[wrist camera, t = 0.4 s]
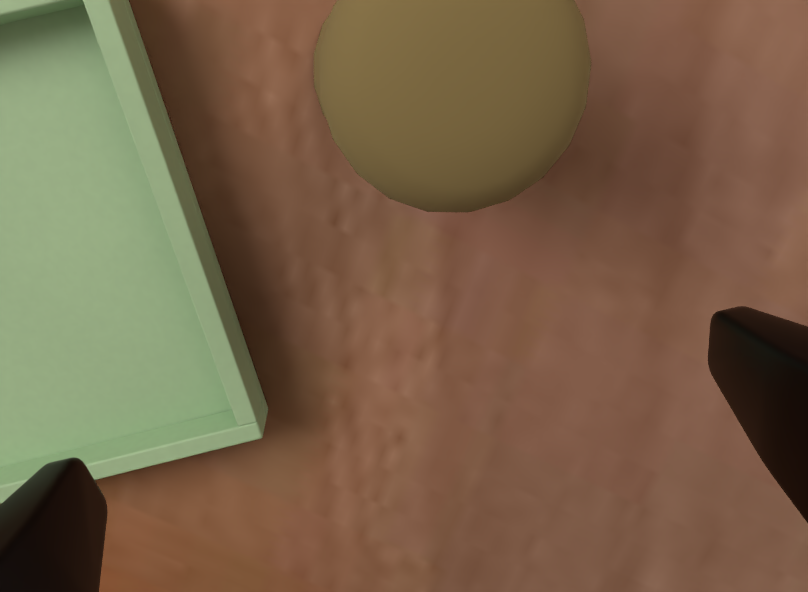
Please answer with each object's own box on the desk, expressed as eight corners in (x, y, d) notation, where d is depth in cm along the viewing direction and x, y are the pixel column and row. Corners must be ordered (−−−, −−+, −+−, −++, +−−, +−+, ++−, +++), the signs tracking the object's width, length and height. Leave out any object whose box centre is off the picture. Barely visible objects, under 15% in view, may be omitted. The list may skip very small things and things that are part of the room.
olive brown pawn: (439, 197, 23) (522, 305, 13) (280, 111, 21) (229, 154, 11) (530, 35, 21) (710, 8, 11) (367, -69, 20) (400, -212, 10)
